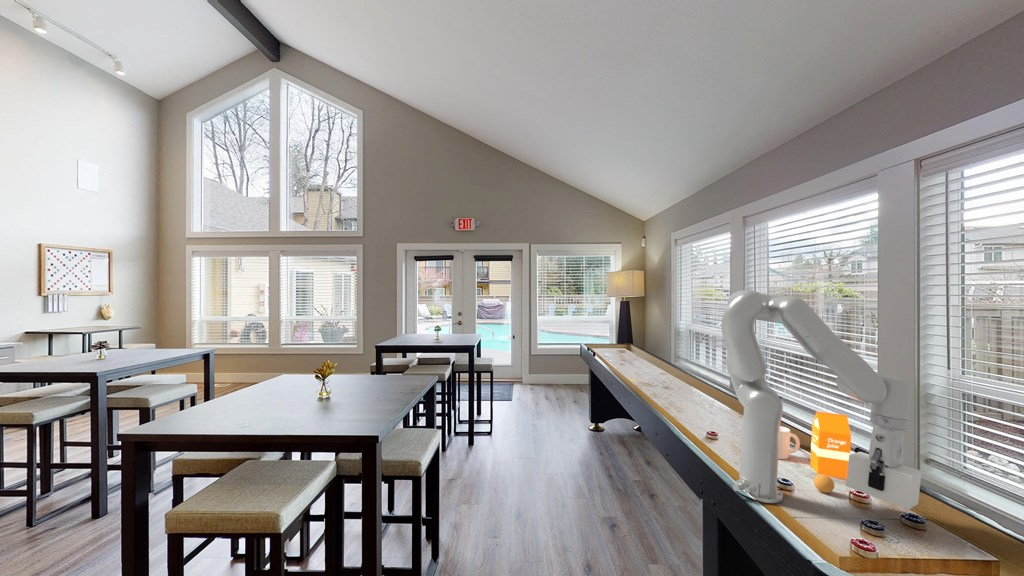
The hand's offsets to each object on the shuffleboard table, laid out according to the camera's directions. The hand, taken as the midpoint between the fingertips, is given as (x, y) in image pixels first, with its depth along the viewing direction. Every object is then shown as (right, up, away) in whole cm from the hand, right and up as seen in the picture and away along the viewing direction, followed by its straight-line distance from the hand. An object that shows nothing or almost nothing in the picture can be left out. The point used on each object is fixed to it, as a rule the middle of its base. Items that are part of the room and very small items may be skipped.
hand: (881, 485), depth 114 cm
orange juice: (+7, -9, +28) cm, 30 cm away
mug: (-1, -9, +40) cm, 41 cm away
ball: (-7, -5, +12) cm, 15 cm away
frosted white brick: (0, -3, 0) cm, 3 cm away
